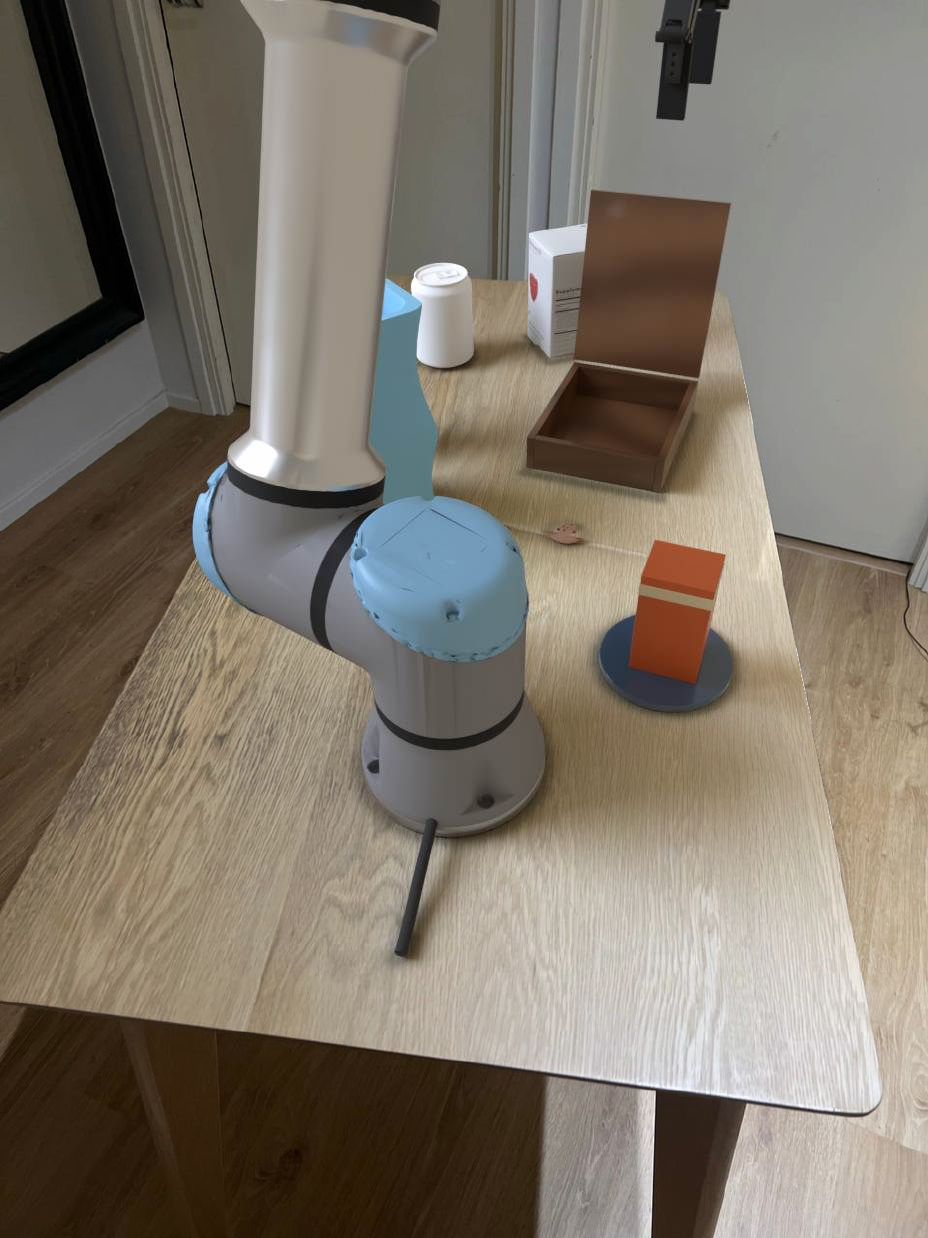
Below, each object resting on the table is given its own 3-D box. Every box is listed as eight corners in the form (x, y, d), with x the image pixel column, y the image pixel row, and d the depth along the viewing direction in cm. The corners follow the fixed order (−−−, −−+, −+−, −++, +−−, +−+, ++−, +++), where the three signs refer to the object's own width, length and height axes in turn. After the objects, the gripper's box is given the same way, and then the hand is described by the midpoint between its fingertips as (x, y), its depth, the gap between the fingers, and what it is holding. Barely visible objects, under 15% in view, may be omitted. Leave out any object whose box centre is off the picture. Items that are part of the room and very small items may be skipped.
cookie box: (695, 684, 78) (715, 592, 71) (627, 667, 80) (640, 575, 73) (706, 646, 82) (726, 554, 74) (641, 630, 84) (654, 538, 76)
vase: (324, 512, 100) (285, 297, 83) (400, 483, 104) (378, 270, 86) (364, 558, 94) (332, 336, 77) (444, 525, 97) (429, 306, 80)
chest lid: (730, 203, 97) (737, 196, 101) (590, 189, 102) (602, 183, 106) (698, 378, 108) (705, 365, 112) (573, 359, 113) (584, 347, 117)
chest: (659, 499, 100) (664, 462, 96) (526, 473, 104) (526, 437, 101) (692, 415, 112) (698, 380, 109) (572, 395, 117) (574, 361, 113)
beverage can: (408, 351, 127) (400, 268, 119) (459, 339, 129) (455, 256, 121) (430, 376, 122) (424, 291, 113) (483, 362, 124) (481, 278, 116)
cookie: (552, 520, 97) (553, 513, 97) (589, 527, 96) (589, 519, 96) (543, 541, 95) (543, 534, 94) (580, 548, 94) (581, 541, 93)
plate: (718, 727, 76) (720, 721, 75) (583, 691, 79) (583, 685, 79) (741, 634, 84) (743, 628, 83) (617, 605, 87) (618, 599, 87)
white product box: (525, 335, 129) (526, 230, 119) (582, 325, 131) (588, 221, 121) (548, 364, 123) (551, 255, 113) (607, 352, 125) (616, 245, 114)
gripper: (735, -164, 68) (696, 138, 83) (782, -184, 84) (742, 71, 99) (639, -162, 70) (618, 132, 85) (703, -182, 87) (675, 67, 101)
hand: (685, 100), depth 92 cm, fingers open, 13 cm apart
